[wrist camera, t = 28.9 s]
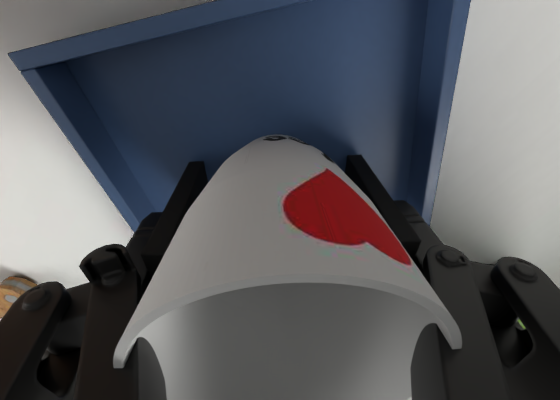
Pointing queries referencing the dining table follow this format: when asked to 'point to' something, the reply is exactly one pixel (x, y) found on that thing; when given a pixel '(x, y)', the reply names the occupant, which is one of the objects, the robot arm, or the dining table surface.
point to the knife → (12, 292)
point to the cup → (285, 288)
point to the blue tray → (256, 90)
